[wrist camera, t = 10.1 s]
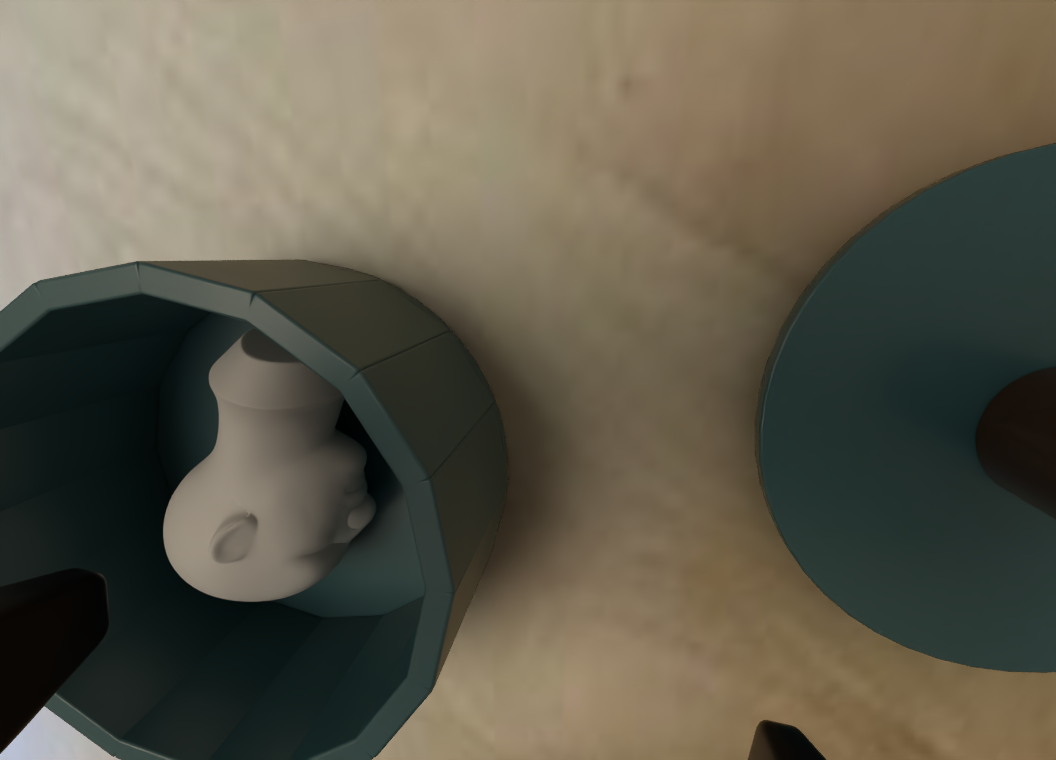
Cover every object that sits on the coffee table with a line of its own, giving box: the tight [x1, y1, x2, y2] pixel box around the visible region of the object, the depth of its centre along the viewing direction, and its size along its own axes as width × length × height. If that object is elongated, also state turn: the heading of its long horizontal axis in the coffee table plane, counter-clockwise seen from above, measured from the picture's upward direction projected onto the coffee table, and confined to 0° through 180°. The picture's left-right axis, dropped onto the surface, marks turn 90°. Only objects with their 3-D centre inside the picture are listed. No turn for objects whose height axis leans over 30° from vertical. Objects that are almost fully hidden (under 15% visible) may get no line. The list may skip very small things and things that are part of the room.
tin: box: [0, 260, 509, 760], centre depth 14 cm, size 12×12×6 cm
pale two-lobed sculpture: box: [163, 328, 376, 602], centre depth 15 cm, size 4×8×5 cm
